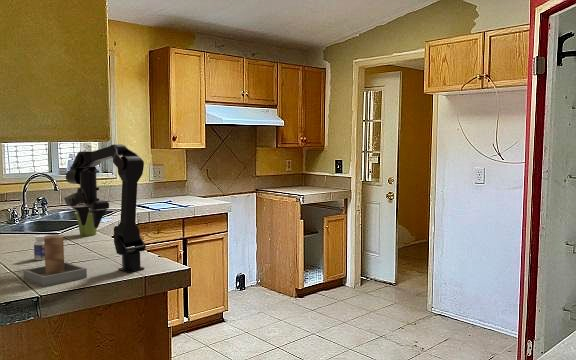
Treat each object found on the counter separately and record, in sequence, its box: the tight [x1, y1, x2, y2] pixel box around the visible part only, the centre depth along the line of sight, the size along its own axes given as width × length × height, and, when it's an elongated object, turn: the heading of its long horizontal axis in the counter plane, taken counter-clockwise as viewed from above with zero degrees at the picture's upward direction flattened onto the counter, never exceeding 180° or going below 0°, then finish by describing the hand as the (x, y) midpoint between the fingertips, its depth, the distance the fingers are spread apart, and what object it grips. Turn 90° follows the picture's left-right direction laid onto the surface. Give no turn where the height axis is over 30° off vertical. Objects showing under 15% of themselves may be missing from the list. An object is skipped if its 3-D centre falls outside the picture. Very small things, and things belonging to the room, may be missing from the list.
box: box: [23, 261, 88, 288], centre depth 161 cm, size 14×14×3 cm
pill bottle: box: [33, 234, 48, 261], centre depth 189 cm, size 5×5×9 cm
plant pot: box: [74, 211, 98, 237], centre depth 240 cm, size 12×12×11 cm
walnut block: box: [44, 234, 65, 276], centre depth 160 cm, size 6×6×13 cm
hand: (89, 226), depth 185 cm, fingers open, 9 cm apart
